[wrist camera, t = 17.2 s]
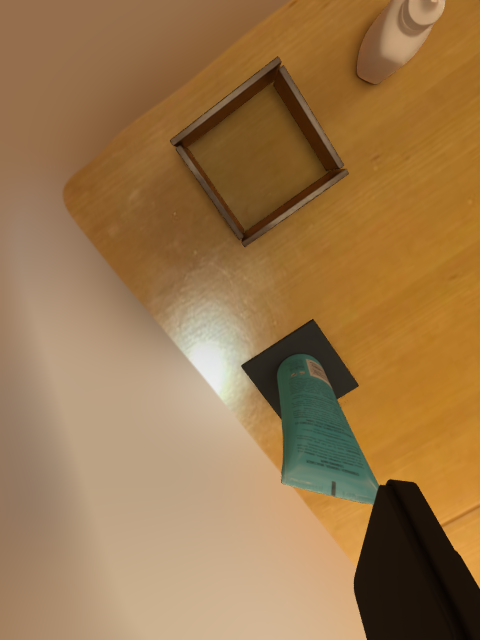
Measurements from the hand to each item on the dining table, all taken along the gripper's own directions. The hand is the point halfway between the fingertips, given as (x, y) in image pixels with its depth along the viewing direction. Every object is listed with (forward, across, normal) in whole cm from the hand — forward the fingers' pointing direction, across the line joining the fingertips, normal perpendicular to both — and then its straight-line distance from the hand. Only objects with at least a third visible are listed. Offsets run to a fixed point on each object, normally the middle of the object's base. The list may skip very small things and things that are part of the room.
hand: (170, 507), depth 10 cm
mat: (+36, -9, +12) cm, 39 cm away
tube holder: (+36, -2, -9) cm, 37 cm away
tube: (+36, -9, +12) cm, 39 cm away
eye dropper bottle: (+36, -11, -20) cm, 43 cm away
